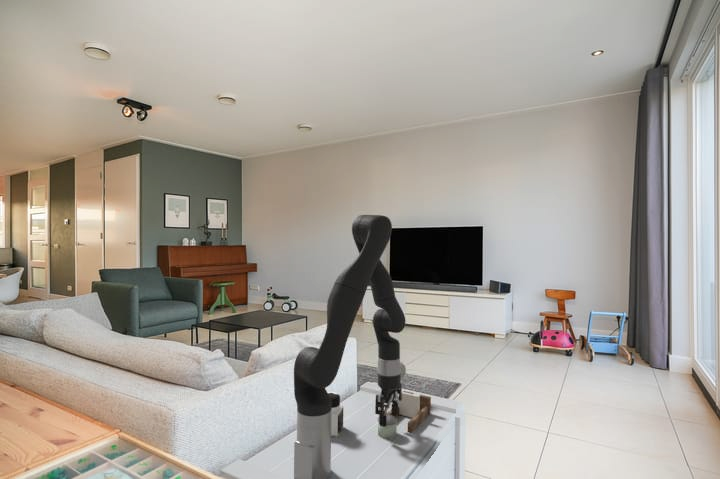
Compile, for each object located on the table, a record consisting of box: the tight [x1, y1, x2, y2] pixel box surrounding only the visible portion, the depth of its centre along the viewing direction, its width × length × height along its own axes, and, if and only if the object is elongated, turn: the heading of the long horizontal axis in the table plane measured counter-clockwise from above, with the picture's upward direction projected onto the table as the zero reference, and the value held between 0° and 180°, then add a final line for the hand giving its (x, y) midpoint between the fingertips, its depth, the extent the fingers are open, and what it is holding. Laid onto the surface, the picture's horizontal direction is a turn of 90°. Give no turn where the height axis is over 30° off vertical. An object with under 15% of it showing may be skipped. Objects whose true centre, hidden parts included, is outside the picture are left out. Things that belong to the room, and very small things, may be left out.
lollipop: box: [400, 361, 407, 379], centre depth 156 cm, size 7×7×15 cm
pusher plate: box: [398, 391, 420, 419], centre depth 142 cm, size 7×7×8 cm
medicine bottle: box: [327, 391, 344, 438], centre depth 129 cm, size 7×7×12 cm
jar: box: [377, 415, 398, 440], centre depth 127 cm, size 6×6×5 cm
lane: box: [386, 390, 432, 434], centre depth 138 cm, size 18×11×6 cm, turn 149°
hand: (389, 420), depth 127 cm, fingers open, 8 cm apart
